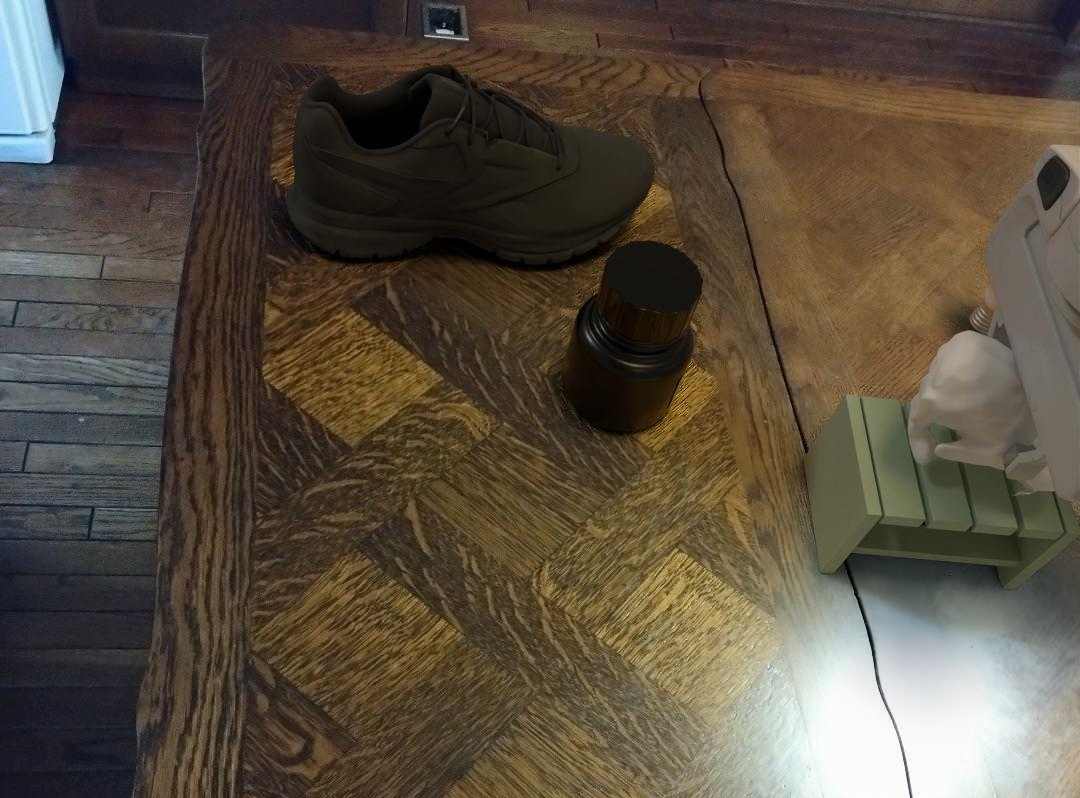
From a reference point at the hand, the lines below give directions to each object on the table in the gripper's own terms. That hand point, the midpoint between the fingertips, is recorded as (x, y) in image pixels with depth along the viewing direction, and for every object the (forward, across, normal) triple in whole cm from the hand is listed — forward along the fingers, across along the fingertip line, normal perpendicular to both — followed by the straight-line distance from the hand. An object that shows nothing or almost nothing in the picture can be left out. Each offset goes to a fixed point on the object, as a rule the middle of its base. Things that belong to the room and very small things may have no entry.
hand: (999, 419), depth 63 cm
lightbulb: (+13, +21, -11) cm, 27 cm away
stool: (+13, 0, 0) cm, 13 cm away
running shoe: (+13, +26, +34) cm, 45 cm away
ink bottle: (+13, +10, +22) cm, 27 cm away
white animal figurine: (+4, 0, 0) cm, 4 cm away
